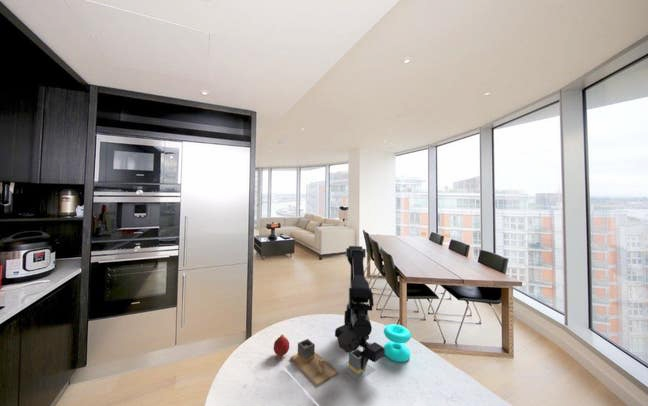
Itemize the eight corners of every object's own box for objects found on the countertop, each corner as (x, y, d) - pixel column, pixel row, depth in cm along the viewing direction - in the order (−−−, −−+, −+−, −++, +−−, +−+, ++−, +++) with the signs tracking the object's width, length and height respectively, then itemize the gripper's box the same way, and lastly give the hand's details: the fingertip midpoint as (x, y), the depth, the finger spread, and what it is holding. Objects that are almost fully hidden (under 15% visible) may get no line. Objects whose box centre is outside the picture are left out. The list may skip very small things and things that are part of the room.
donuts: (399, 321, 96) (416, 334, 86) (399, 345, 96) (415, 361, 86) (379, 324, 93) (394, 338, 83) (378, 349, 93) (393, 366, 83)
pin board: (310, 351, 90) (310, 335, 90) (338, 375, 78) (338, 356, 78) (290, 360, 84) (290, 343, 84) (317, 388, 72) (317, 368, 72)
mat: (356, 357, 87) (356, 356, 87) (375, 370, 80) (375, 369, 80) (339, 367, 82) (339, 366, 82) (358, 382, 75) (358, 381, 75)
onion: (285, 362, 83) (286, 340, 83) (270, 360, 84) (271, 338, 84) (291, 352, 89) (291, 331, 89) (277, 350, 90) (277, 329, 90)
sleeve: (357, 361, 84) (357, 348, 84) (366, 368, 81) (366, 354, 81) (348, 367, 81) (349, 352, 81) (357, 374, 78) (358, 359, 78)
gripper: (324, 317, 83) (323, 360, 83) (364, 341, 69) (362, 394, 69) (346, 309, 90) (344, 348, 90) (386, 329, 76) (385, 377, 76)
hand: (357, 365), depth 81 cm, fingers closed on sleeve, 4 cm apart
